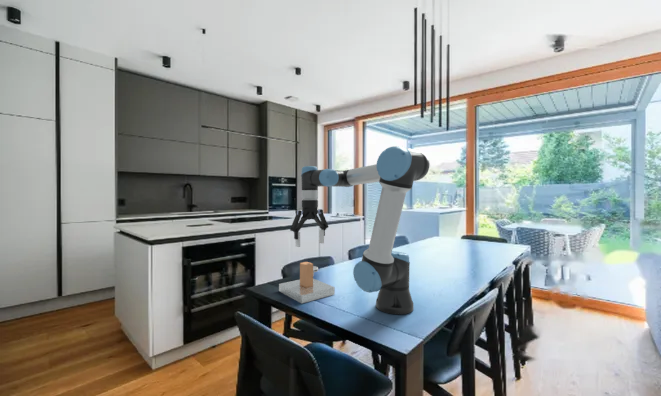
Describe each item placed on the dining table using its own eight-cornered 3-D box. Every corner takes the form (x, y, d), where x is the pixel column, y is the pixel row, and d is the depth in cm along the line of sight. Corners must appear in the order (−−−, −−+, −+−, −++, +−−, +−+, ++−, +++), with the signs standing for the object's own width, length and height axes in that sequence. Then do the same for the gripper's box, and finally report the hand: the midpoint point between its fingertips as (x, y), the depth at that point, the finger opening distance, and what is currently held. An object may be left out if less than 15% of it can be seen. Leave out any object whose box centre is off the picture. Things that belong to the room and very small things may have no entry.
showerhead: (307, 263, 168) (321, 265, 162) (307, 275, 168) (321, 278, 162) (296, 266, 161) (310, 269, 155) (296, 279, 161) (310, 283, 155)
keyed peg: (299, 292, 141) (299, 262, 141) (306, 290, 143) (306, 261, 143) (306, 295, 137) (306, 264, 137) (313, 293, 140) (313, 263, 139)
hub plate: (334, 294, 138) (334, 286, 138) (301, 303, 127) (301, 295, 127) (310, 283, 154) (310, 277, 154) (279, 291, 143) (279, 283, 142)
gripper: (325, 198, 150) (326, 240, 151) (282, 199, 135) (282, 246, 135) (335, 199, 144) (335, 242, 145) (291, 200, 129) (291, 249, 129)
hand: (310, 244), depth 140 cm, fingers open, 13 cm apart
